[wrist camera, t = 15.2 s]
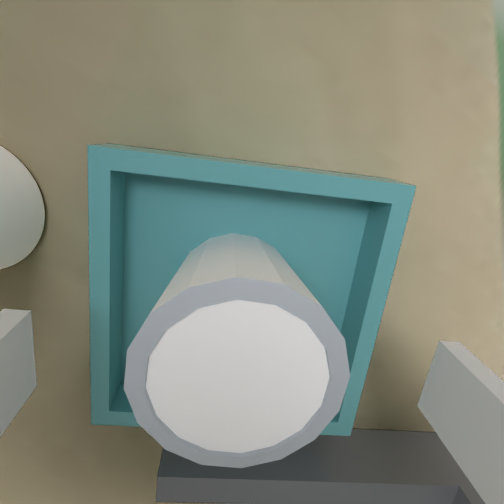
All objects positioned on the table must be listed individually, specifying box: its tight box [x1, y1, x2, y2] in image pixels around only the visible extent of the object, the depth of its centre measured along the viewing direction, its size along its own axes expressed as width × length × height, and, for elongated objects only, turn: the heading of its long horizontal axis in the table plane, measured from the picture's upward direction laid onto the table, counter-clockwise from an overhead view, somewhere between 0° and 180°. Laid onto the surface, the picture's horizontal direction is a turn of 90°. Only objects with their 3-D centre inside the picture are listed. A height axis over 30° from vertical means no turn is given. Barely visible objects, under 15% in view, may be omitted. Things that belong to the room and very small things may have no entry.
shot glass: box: [124, 233, 350, 468], centre depth 14 cm, size 7×7×7 cm
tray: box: [88, 143, 416, 436], centre depth 17 cm, size 13×13×2 cm
